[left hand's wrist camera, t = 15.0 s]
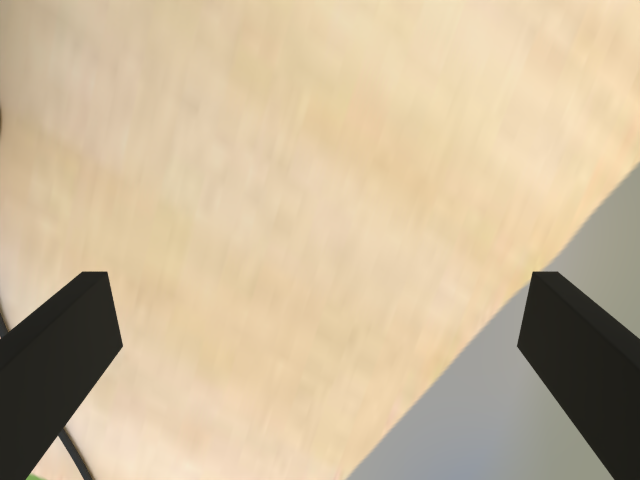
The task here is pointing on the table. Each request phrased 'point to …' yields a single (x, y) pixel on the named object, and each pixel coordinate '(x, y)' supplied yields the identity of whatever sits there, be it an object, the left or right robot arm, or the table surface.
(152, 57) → the table surface
